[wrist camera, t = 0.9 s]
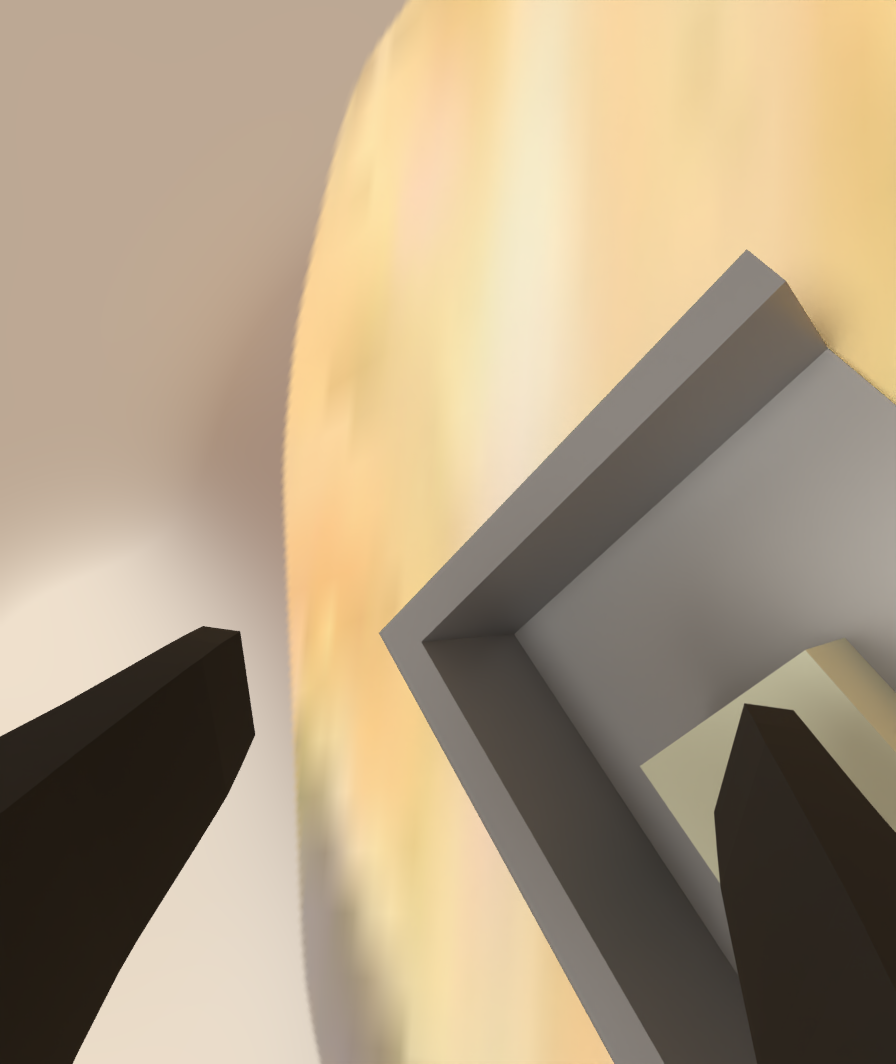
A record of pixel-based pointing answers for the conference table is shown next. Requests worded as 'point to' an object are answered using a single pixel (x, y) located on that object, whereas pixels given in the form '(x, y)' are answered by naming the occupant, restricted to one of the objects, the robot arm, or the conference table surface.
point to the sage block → (826, 709)
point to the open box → (656, 639)
